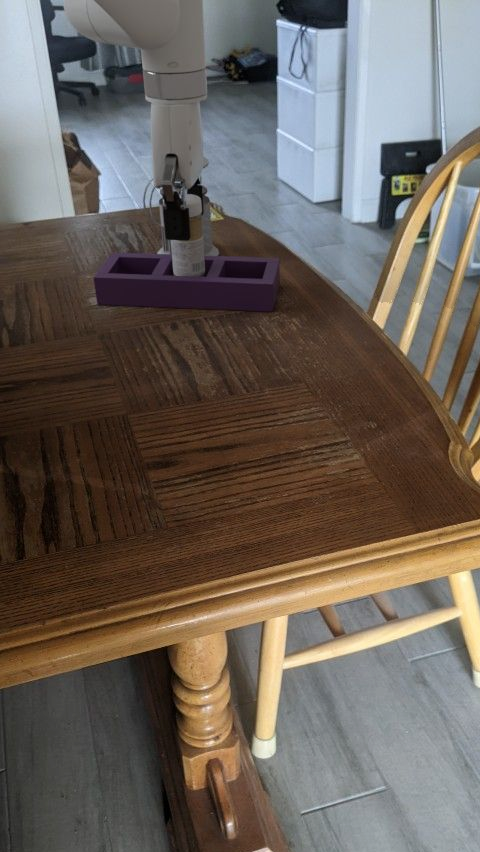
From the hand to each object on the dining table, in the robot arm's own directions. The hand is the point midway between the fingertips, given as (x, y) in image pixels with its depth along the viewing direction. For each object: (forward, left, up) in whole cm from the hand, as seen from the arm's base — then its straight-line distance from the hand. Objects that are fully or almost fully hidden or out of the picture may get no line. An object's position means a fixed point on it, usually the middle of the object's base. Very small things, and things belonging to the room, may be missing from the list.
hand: (185, 226), depth 104 cm
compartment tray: (0, 0, -10) cm, 10 cm away
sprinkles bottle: (0, 0, -10) cm, 10 cm away
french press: (-4, +15, -10) cm, 18 cm away
